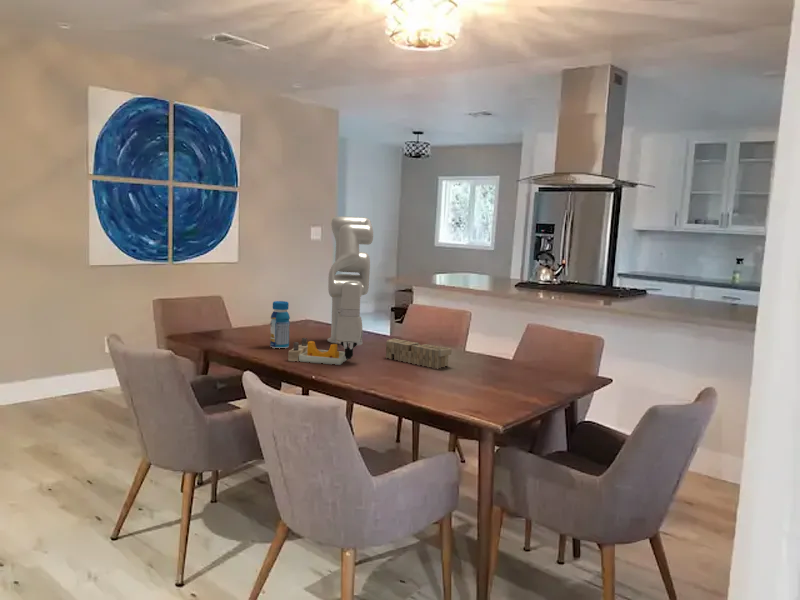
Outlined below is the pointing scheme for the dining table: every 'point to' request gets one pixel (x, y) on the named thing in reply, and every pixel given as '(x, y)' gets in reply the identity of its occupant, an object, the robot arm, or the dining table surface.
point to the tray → (323, 358)
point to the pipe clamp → (315, 352)
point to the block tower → (417, 353)
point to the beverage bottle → (280, 325)
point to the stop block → (297, 350)
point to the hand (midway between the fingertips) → (348, 358)
